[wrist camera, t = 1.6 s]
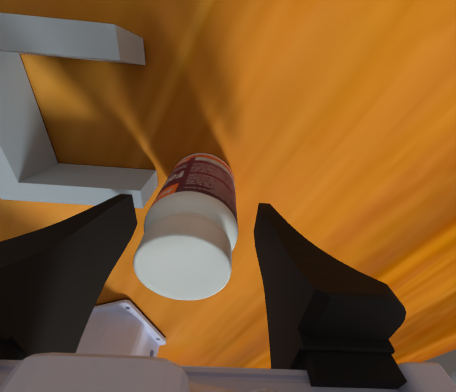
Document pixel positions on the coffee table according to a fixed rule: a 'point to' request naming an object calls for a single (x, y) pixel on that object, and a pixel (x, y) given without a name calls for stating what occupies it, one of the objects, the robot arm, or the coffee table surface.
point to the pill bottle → (190, 231)
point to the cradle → (33, 123)
